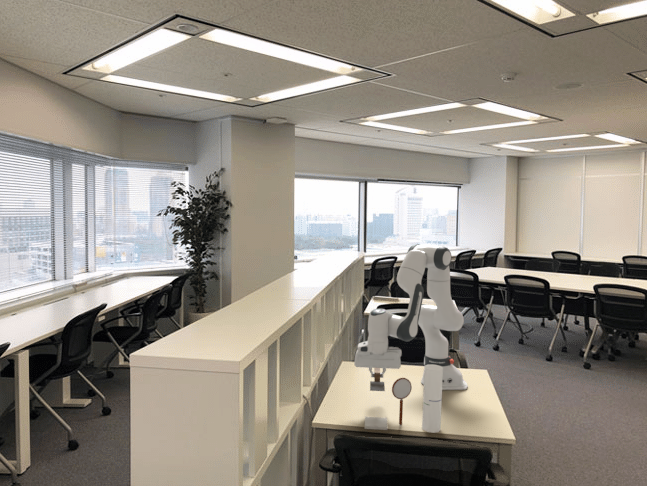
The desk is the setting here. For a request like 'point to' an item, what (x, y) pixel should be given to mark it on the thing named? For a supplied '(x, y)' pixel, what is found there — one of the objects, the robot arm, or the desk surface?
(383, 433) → the desk surface
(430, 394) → the cylindrical container
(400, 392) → the magnifying glass
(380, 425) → the glazed tile
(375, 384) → the turner
